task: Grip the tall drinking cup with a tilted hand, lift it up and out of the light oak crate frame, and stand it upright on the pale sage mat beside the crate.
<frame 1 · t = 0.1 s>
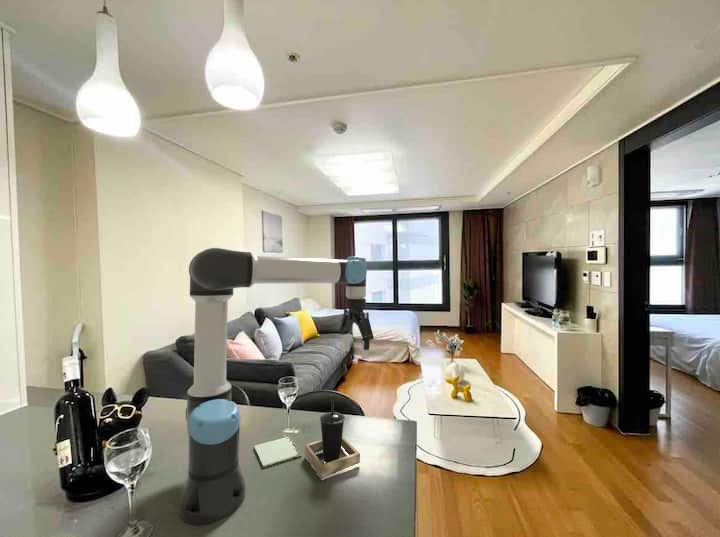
hand: (355, 354, 115), 28 cm above the table, tool pointing down, fingers open, 13 cm apart
oak crate frame: (331, 462, 94), on the table
sage mat: (277, 452, 99), on the table
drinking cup: (331, 462, 94), resting in oak crate frame
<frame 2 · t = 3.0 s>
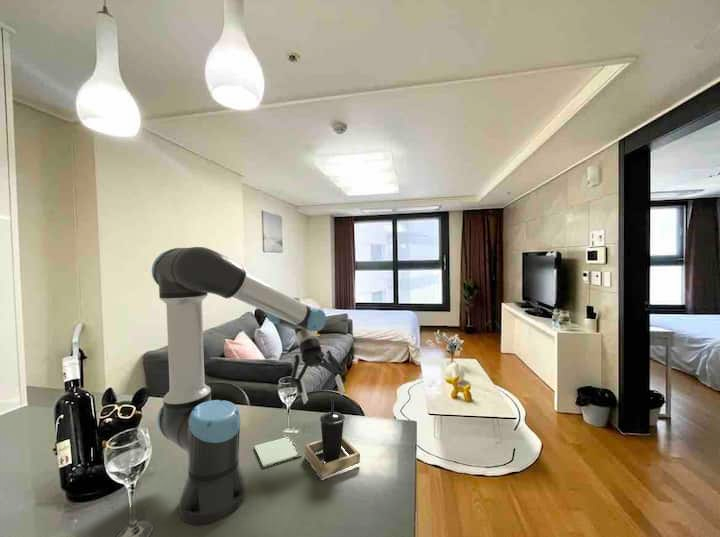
hand: (325, 397, 102), 17 cm above the table, tool tilted 45°, fingers open, 13 cm apart
nothing on the table moved.
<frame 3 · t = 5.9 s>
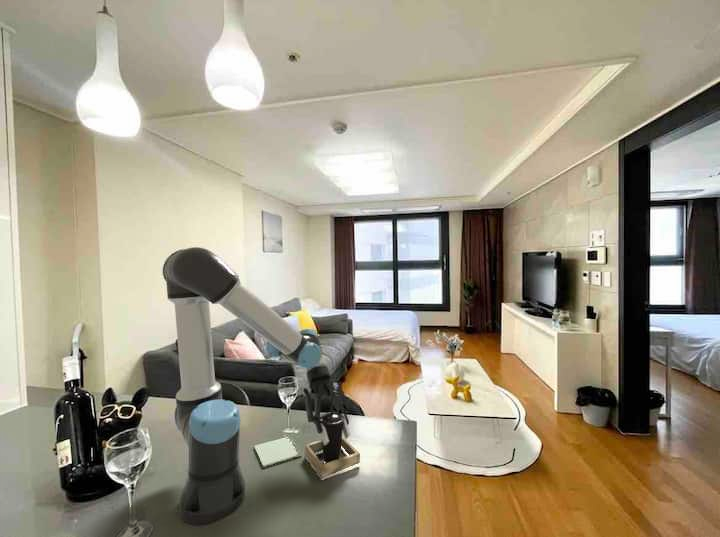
hand: (337, 440, 92), 8 cm above the table, tool tilted 45°, fingers closed on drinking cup, 6 cm apart
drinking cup: (331, 462, 94), resting in oak crate frame, touching gripper
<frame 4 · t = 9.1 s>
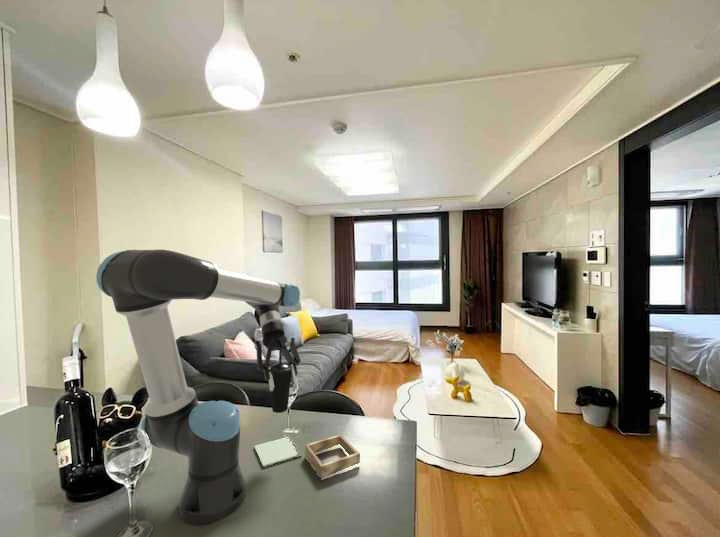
hand: (283, 386, 96), 22 cm above the table, tool tilted 45°, fingers closed on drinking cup, 6 cm apart
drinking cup: (280, 409, 99), point 14 cm above the table, touching gripper
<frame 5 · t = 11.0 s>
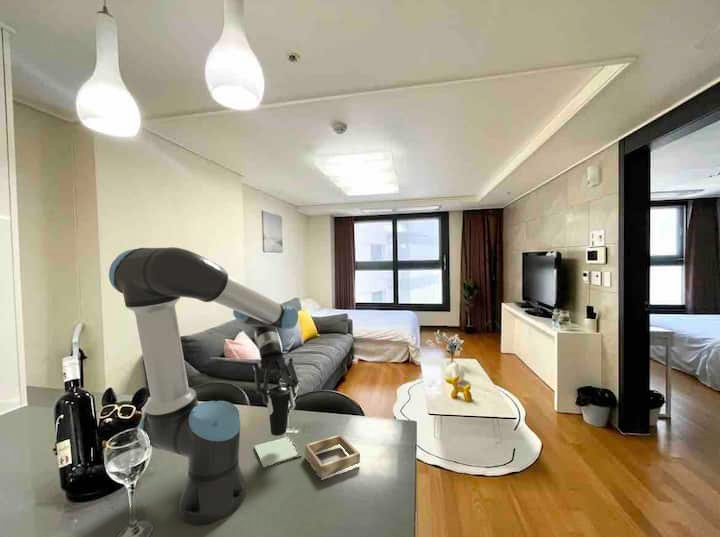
hand: (282, 410, 97), 15 cm above the table, tool tilted 45°, fingers closed on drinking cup, 6 cm apart
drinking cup: (278, 432, 100), point 6 cm above the table, touching gripper
when the fingers open (10 cm above the table, at t = 12.4 s): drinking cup drops 1 cm, resting on sage mat.
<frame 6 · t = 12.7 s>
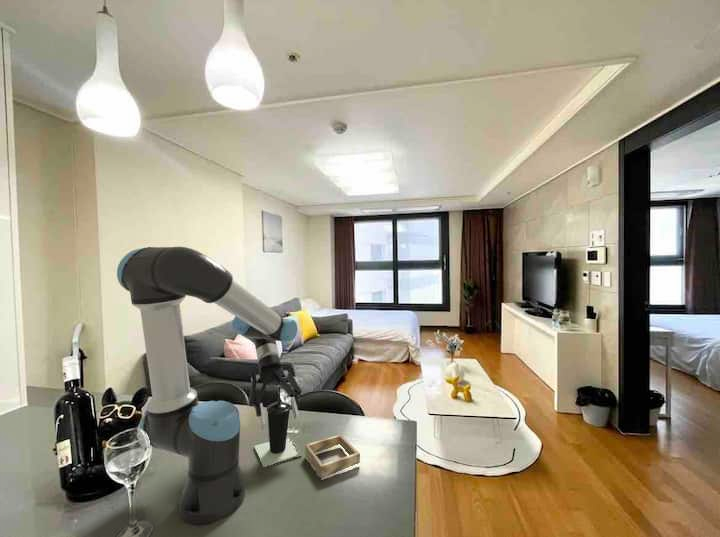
hand: (280, 421, 97), 11 cm above the table, tool tilted 45°, fingers open, 10 cm apart
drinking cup: (277, 450, 99), point 1 cm above the table, touching sage mat
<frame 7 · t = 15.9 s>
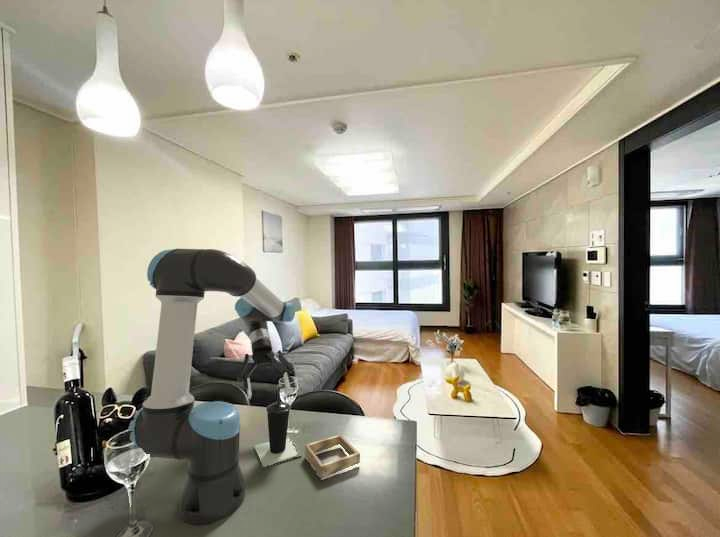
hand: (269, 393, 109), 15 cm above the table, tool tilted 45°, fingers open, 13 cm apart
nothing on the table moved.
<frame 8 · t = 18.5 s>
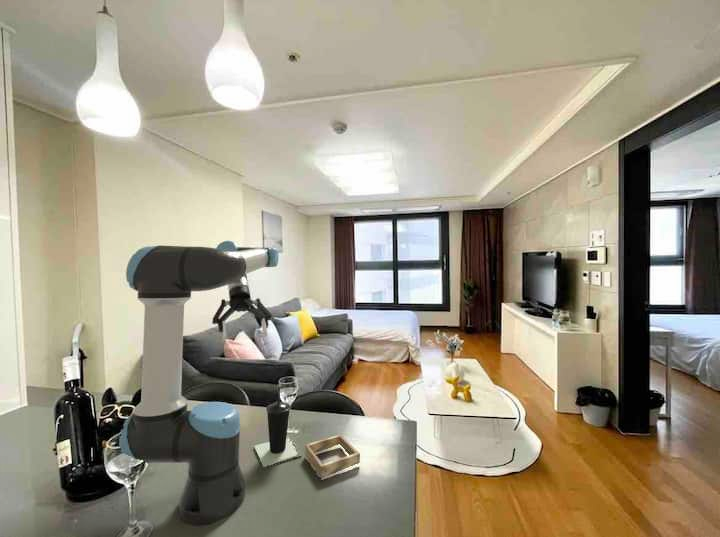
hand: (246, 337, 107), 36 cm above the table, tool tilted 45°, fingers open, 13 cm apart
nothing on the table moved.
at the end: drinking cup 0.2 cm off-centre on the sage mat, point 0.6 cm above the sage mat's base; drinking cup tilted 0°; the gripper is holding nothing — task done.
